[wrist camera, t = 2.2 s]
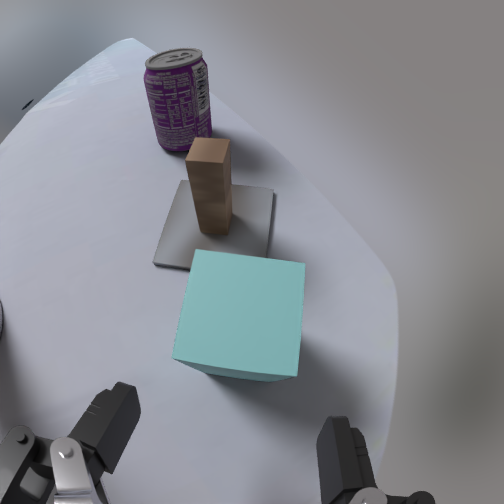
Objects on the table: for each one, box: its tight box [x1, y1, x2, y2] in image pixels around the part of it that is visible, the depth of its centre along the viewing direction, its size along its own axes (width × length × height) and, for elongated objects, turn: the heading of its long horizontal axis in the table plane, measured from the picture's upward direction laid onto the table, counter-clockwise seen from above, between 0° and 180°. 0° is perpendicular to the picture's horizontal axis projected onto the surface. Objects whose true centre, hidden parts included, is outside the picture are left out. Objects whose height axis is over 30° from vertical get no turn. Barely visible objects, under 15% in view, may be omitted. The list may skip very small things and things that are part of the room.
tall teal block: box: [172, 249, 305, 382], centre depth 16 cm, size 5×5×11 cm
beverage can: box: [144, 48, 212, 151], centre depth 27 cm, size 7×7×12 cm
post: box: [153, 137, 274, 270], centre depth 22 cm, size 10×10×10 cm
